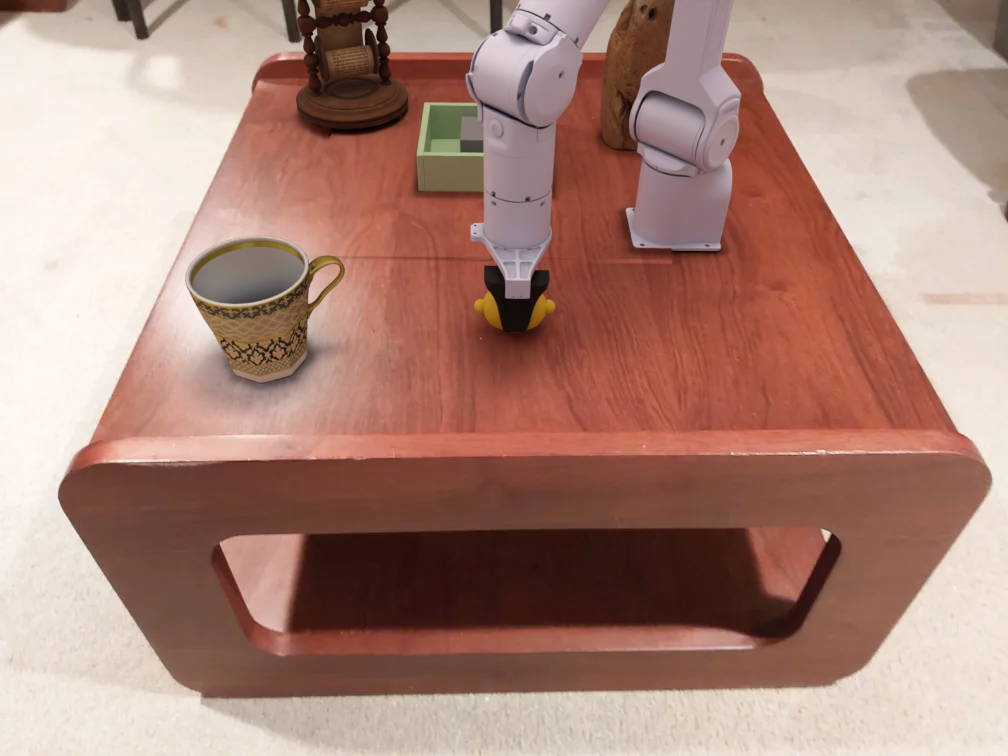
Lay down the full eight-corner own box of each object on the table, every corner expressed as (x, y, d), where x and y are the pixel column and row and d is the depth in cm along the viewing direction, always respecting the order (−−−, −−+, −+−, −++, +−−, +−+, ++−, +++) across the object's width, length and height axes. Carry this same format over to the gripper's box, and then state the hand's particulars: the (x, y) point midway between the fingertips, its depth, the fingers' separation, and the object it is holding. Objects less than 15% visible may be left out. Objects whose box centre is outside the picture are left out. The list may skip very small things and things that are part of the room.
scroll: (389, 83, 118) (377, -70, 104) (424, 127, 108) (415, -35, 95) (287, 100, 114) (260, -58, 100) (314, 147, 104) (288, -20, 90)
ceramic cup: (222, 409, 70) (194, 318, 63) (204, 339, 77) (176, 249, 70) (369, 369, 74) (357, 279, 67) (340, 306, 80) (326, 218, 74)
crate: (547, 141, 106) (549, 103, 102) (551, 196, 96) (554, 156, 93) (426, 140, 106) (424, 102, 102) (418, 195, 96) (416, 155, 92)
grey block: (510, 150, 103) (511, 117, 100) (510, 175, 98) (511, 140, 95) (462, 150, 103) (461, 116, 100) (460, 174, 98) (460, 139, 95)
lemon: (552, 310, 80) (555, 273, 77) (555, 340, 77) (557, 303, 74) (474, 310, 80) (474, 273, 77) (473, 339, 76) (473, 302, 73)
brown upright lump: (669, 125, 110) (695, -35, 96) (691, 151, 105) (722, -14, 91) (592, 132, 108) (607, -30, 94) (610, 159, 103) (629, -8, 89)
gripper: (471, 142, 73) (473, 267, 82) (467, 233, 62) (469, 364, 72) (550, 143, 73) (543, 267, 82) (559, 233, 63) (550, 365, 72)
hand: (514, 312), depth 77 cm, fingers closed on lemon, 4 cm apart
